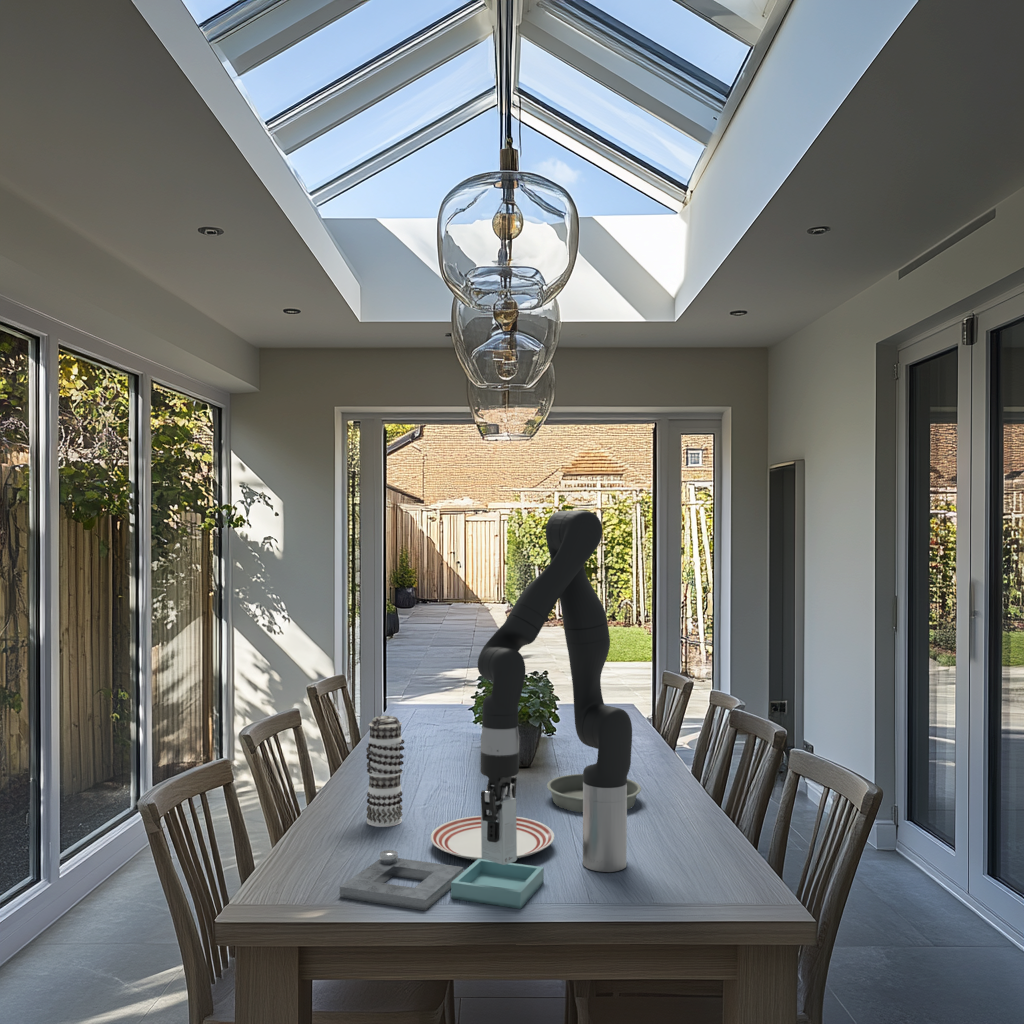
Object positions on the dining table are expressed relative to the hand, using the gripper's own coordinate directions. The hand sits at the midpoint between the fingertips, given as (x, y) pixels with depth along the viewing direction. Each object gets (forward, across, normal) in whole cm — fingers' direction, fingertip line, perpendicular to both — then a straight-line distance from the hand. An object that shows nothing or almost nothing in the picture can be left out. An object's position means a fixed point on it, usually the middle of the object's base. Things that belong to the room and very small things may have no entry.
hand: (498, 836), depth 177 cm
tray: (+10, 0, 0) cm, 10 cm away
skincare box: (+5, 0, 0) cm, 5 cm away
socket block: (+10, -5, +18) cm, 21 cm away
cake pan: (+10, +66, -2) cm, 67 cm away
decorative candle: (+11, +31, +41) cm, 53 cm away
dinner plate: (+11, +23, +10) cm, 27 cm away
